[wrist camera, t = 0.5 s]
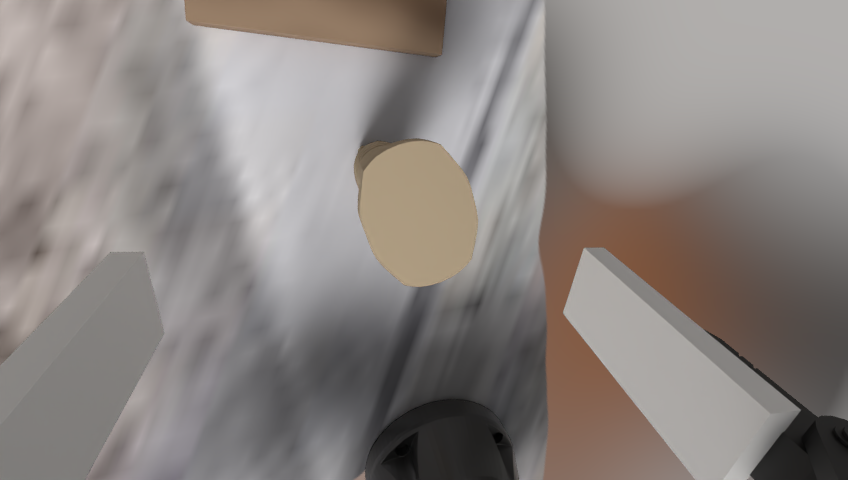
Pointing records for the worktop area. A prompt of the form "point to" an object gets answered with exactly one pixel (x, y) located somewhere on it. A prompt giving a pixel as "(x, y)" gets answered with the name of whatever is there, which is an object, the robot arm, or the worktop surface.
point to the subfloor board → (332, 21)
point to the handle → (415, 210)
